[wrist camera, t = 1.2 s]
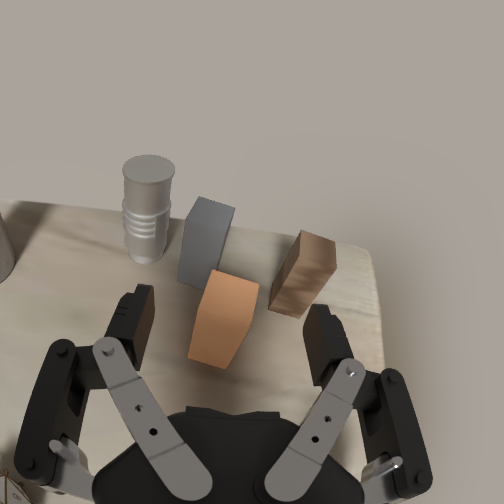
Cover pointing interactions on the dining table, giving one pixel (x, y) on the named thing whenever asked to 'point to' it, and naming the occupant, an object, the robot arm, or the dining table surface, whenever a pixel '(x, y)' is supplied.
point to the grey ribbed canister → (146, 206)
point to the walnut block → (303, 274)
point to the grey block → (203, 241)
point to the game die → (11, 491)
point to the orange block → (222, 319)
